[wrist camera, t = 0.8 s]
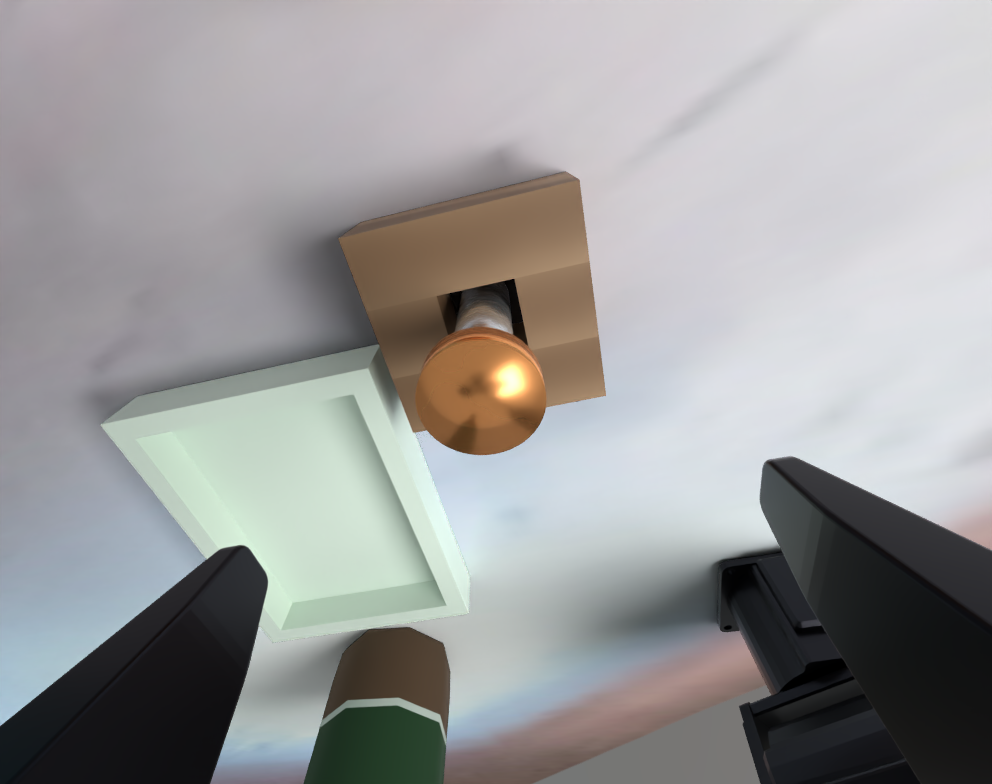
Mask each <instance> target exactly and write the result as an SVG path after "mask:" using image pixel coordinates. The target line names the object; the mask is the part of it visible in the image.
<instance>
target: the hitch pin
mask: <svg viewBox="0 0 992 784" xmlns="http://www.w3.org/2000/svg"><path fill="white" fill-rule="evenodd" d="M415 403H416V409H417V413H418V416H419V418H420V420H421V422H422V424H423V425H424V427H425V428H426V430H427V431H428V432H429V433H430V434H431V435H432V436H433V437H434V438H435V439H436V440H438V441H439V442H440V443H442V444H443V445H445V446H447V447H449V448H451V449H453V450H456V451H459V452H462V453H467V454H473V455H490V454H497V453H501V452H504V451H507V450H510V449H512V448H514V447H516V446H518V445H520V444H521V443H523V442H524V441H525V440H527V439H528V438H529V437H530V436H531V435H532V434H533V433H534V432H535V430H536V429H537V428H538V426H539V425H540V423H541V421H542V419H543V416H544V413H545V408H546V390H545V385H544V380H543V375H542V370H541V367H540V364H539V362H538V359H537V357H536V356H535V354H534V353H533V351H532V350H531V349H530V348H529V347H528V346H527V345H526V344H525V343H524V342H523V341H522V340H520V339H519V338H517V337H516V336H514V335H513V329H512V319H511V308H510V298H509V291H508V289H507V286H506V285H505V283H504V282H503V281H501V282H497V283H492V284H488V285H484V286H479V287H475V288H470V289H466V290H463V291H462V296H461V301H460V307H459V312H458V317H457V323H456V328H455V332H454V333H452V334H450V335H448V336H446V337H445V338H443V339H442V340H441V341H439V342H438V343H437V344H436V345H435V346H434V347H433V348H432V349H431V351H430V352H429V354H428V355H427V357H426V359H425V361H424V364H423V366H422V370H421V373H420V376H419V380H418V383H417V387H416V393H415Z"/></svg>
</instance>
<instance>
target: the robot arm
mask: <svg viewBox="0 0 992 784" xmlns="http://www.w3.org/2000/svg"><path fill="white" fill-rule="evenodd" d="M760 504H761V508H762V511H763V513H764V515H765V517H766V519H767V521H768V523H769V526H770V528H771V530H772V532H773V534H774V536H775V538H776V540H777V542H778V544H779V546H780V548H781V550H782V552H783V553H776V554H770V555H763V556H757V557H750V558H743V559H737V560H730V561H725V562H723V563H721V564H720V565H719V578H718V620H717V623H718V626H719V628H720V630H721V631H722V632H732V631H740V632H741V634H742V636H743V638H744V640H745V642H746V645H747V647H748V649H749V651H750V653H751V655H752V657H753V659H754V661H755V663H756V665H757V667H758V669H759V671H760V673H761V675H762V677H763V679H764V681H765V683H766V685H767V687H768V689H769V691H770V693H771V696H769V697H766V698H764V699H761V700H759V701H757V702H753V703H751V704H750V703H749V702H748V703H745V704H742V705H740V706H739V708H740V711H741V714H742V718H743V721H744V723H743V727H744V730H745V734H746V737H747V740H748V743H749V747H750V750H751V753H752V757H753V760H754V763H755V767H756V770H757V773H758V777H759V779H760V783H761V784H992V550H990V549H988V548H986V547H984V546H982V545H980V544H978V543H975V542H973V541H971V540H969V539H967V538H965V537H963V536H961V535H959V534H956V533H954V532H952V531H950V530H948V529H946V528H944V527H942V526H940V525H937V524H935V523H933V522H931V521H929V520H927V519H925V518H923V517H921V516H918V515H916V514H914V513H912V512H910V511H908V510H906V509H904V508H902V507H899V506H897V505H895V504H893V503H891V502H889V501H887V500H885V499H883V498H881V497H878V496H876V495H874V494H872V493H870V492H868V491H866V490H864V489H862V488H859V487H857V486H855V485H853V484H851V483H849V482H847V481H845V480H843V479H840V478H838V477H836V476H834V475H832V474H830V473H828V472H826V471H824V470H821V469H819V468H817V467H815V466H813V465H811V464H809V463H807V462H805V461H802V460H800V459H798V458H796V457H782V458H776V459H770V460H767V461H766V462H765V463H764V465H763V469H762V479H761V489H760ZM267 589H268V577H267V574H266V572H265V570H264V569H263V567H262V566H261V564H260V563H259V562H258V560H257V559H256V557H255V556H254V554H253V553H252V551H251V550H250V549H249V548H248V547H247V546H245V545H237V546H231V547H225V548H222V549H220V550H218V551H217V552H215V553H214V554H213V555H212V556H210V557H209V558H208V559H207V560H205V561H204V562H203V563H202V564H201V565H199V566H198V567H197V568H196V569H194V570H193V571H192V572H191V573H189V574H188V575H187V576H186V577H184V578H183V579H182V580H181V581H179V582H178V583H177V584H176V585H175V586H173V587H172V588H171V589H170V590H168V591H167V592H166V593H165V594H163V595H162V596H161V597H160V598H158V599H157V600H156V601H155V602H153V603H152V604H151V605H150V606H148V607H147V608H146V609H145V610H144V611H142V612H141V613H140V614H139V615H137V616H136V617H135V618H134V619H132V620H131V621H130V622H129V623H127V624H126V625H125V626H124V627H122V628H121V629H120V630H119V631H118V632H116V633H115V634H114V635H113V636H111V637H110V638H109V639H108V640H106V641H105V642H104V643H103V644H101V645H100V646H99V647H98V648H96V649H95V650H94V651H93V652H92V653H90V654H89V655H88V656H87V657H85V658H84V659H83V660H82V661H80V662H79V663H78V664H77V665H75V666H74V667H73V668H72V669H70V670H69V671H68V672H67V673H65V674H64V675H63V676H62V677H61V678H59V679H58V680H57V681H56V682H54V683H53V684H52V685H51V686H49V687H48V688H47V689H46V690H44V691H43V692H42V693H41V694H39V695H38V696H37V697H36V698H35V699H33V700H32V701H31V702H30V703H28V704H27V705H26V706H25V707H23V708H22V709H21V710H20V711H18V712H17V713H16V714H15V715H13V716H12V717H11V718H10V719H8V720H7V721H6V722H5V723H4V724H2V725H1V726H0V784H210V782H211V779H212V776H213V773H214V770H215V768H216V765H217V762H218V759H219V756H220V753H221V750H222V747H223V744H224V741H225V738H226V735H227V732H228V729H229V726H230V723H231V720H232V717H233V714H234V711H235V708H236V705H237V702H238V699H239V696H240V693H241V691H242V687H243V684H244V681H245V678H246V675H247V671H248V667H249V663H250V660H251V656H252V651H253V647H254V643H255V639H256V635H257V631H258V626H259V622H260V618H261V614H262V610H263V605H264V601H265V597H266V593H267Z"/></svg>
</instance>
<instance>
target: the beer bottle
mask: <svg viewBox="0 0 992 784" xmlns="http://www.w3.org/2000/svg"><path fill="white" fill-rule="evenodd" d="M449 701H450V669H449V665H448V660H447V656H446V652H445V648H444V645H443V643H441V642H439V641H437V640H435V639H433V638H431V637H429V636H427V635H424V634H422V633H420V632H418V631H416V630H414V629H412V628H391V629H373V630H368V631H367V632H366V633H365V634H363V635H362V636H361V637H360V638H359V639H358V640H356V641H355V642H354V643H353V644H352V645H351V646H349V647H348V648H347V649H346V650H345V652H344V653H343V654H342V657H341V660H340V663H339V666H338V669H337V672H336V674H335V677H334V680H333V684H332V687H331V691H330V694H329V698H328V701H327V704H326V708H325V711H324V715H323V718H322V722H321V725H320V729H319V732H318V736H317V739H316V743H315V746H314V750H313V753H312V756H311V760H310V763H309V767H308V770H307V774H306V777H305V781H304V784H443V780H444V767H445V753H446V740H447V727H448V714H449Z"/></svg>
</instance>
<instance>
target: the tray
mask: <svg viewBox="0 0 992 784" xmlns="http://www.w3.org/2000/svg"><path fill="white" fill-rule="evenodd" d="M100 425H101V427H102V428H103V429H104V430H105V432H106V433H107V434H108V435H109V437H110V438H111V439H112V440H113V442H114V443H115V444H116V446H117V447H118V448H119V449H120V451H121V452H122V453H123V454H124V456H125V457H126V458H127V459H128V461H129V462H130V463H131V464H132V466H133V467H134V468H135V470H136V471H137V472H138V473H139V475H140V476H141V477H142V478H143V480H144V481H145V482H146V483H147V485H148V486H149V487H150V488H151V490H152V491H153V492H154V494H155V495H156V496H157V497H158V499H159V500H160V501H161V502H162V504H163V505H164V506H165V507H166V509H167V510H168V511H169V512H170V514H171V515H172V516H173V518H174V519H175V520H176V521H177V523H178V524H179V525H180V526H181V528H182V529H183V530H184V531H185V533H186V534H187V535H188V536H189V538H190V539H191V540H192V542H193V543H194V544H195V545H196V547H197V548H198V549H199V550H200V552H201V553H202V554H203V555H204V557H205V558H206V559H208V558H209V557H210V556H212V555H213V554H214V553H215V552H217V551H218V550H220V549H222V548H225V547H231V546H237V545H245V546H247V547H248V548H249V549H250V550H251V551H252V553H253V554H254V556H255V557H256V559H257V560H258V562H259V563H260V564H261V566H262V567H263V569H264V570H265V572H266V574H267V577H268V589H267V593H266V597H265V601H264V605H263V610H262V614H261V618H260V622H259V626H260V627H261V629H262V630H263V631H264V632H265V634H266V635H267V636H268V638H269V639H270V640H271V641H272V643H276V642H283V641H289V640H296V639H303V638H310V637H316V636H323V635H330V634H337V633H343V632H350V631H357V630H364V629H370V628H377V627H384V626H391V625H398V624H404V623H411V622H418V621H425V620H431V619H438V618H445V617H452V616H458V615H465V614H469V597H470V576H469V573H468V570H467V568H466V565H465V562H464V560H463V557H462V555H461V552H460V549H459V547H458V544H457V542H456V539H455V536H454V534H453V531H452V529H451V526H450V523H449V521H448V518H447V516H446V513H445V510H444V508H443V505H442V502H441V500H440V497H439V495H438V492H437V489H436V487H435V484H434V482H433V479H432V476H431V474H430V471H429V469H428V466H427V463H426V461H425V458H424V455H423V453H422V450H421V448H420V445H419V442H418V440H417V437H416V435H415V433H413V432H412V429H411V426H410V424H409V421H408V419H407V416H406V413H405V411H404V408H403V406H402V403H401V400H400V398H399V395H398V393H397V390H396V387H395V385H394V382H393V380H392V377H391V374H390V372H389V369H388V367H387V364H386V361H385V359H384V356H383V354H382V351H381V349H380V346H379V344H376V345H372V346H367V347H362V348H358V349H353V350H349V351H344V352H339V353H335V354H330V355H325V356H321V357H316V358H312V359H307V360H302V361H298V362H293V363H288V364H284V365H279V366H275V367H270V368H265V369H261V370H256V371H251V372H247V373H242V374H238V375H233V376H228V377H224V378H219V379H215V380H210V381H205V382H201V383H196V384H191V385H187V386H182V387H178V388H173V389H168V390H164V391H159V392H154V393H150V394H145V395H141V396H137V397H136V398H135V399H133V400H132V401H131V402H129V403H128V404H127V405H125V406H124V407H123V408H122V409H120V410H119V411H118V412H116V413H115V414H114V415H112V416H111V417H110V418H108V419H107V420H106V421H104V422H103V423H102V424H100Z"/></svg>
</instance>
